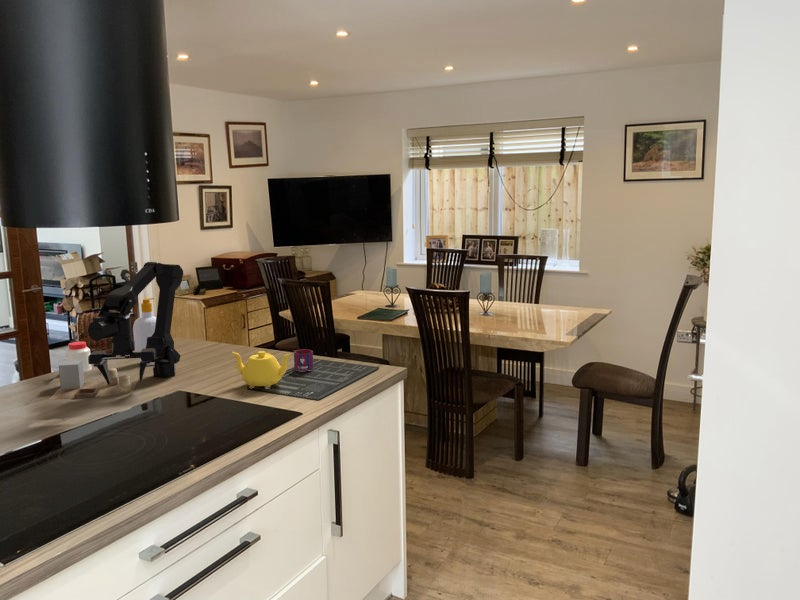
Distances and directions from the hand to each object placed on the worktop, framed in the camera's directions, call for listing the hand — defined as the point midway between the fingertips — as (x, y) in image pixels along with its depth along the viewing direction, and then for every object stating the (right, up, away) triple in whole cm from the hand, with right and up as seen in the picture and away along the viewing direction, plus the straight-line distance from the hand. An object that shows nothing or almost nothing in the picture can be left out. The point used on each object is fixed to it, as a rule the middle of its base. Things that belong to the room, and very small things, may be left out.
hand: (125, 382), depth 198 cm
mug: (+51, +1, +33) cm, 60 cm away
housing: (-19, -2, +6) cm, 21 cm away
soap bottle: (-7, +2, +39) cm, 40 cm away
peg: (-8, -2, +8) cm, 11 cm away
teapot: (+40, -3, +14) cm, 42 cm away
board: (-11, -4, +4) cm, 12 cm away
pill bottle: (-27, 0, +25) cm, 37 cm away
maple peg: (0, -3, 0) cm, 3 cm away
